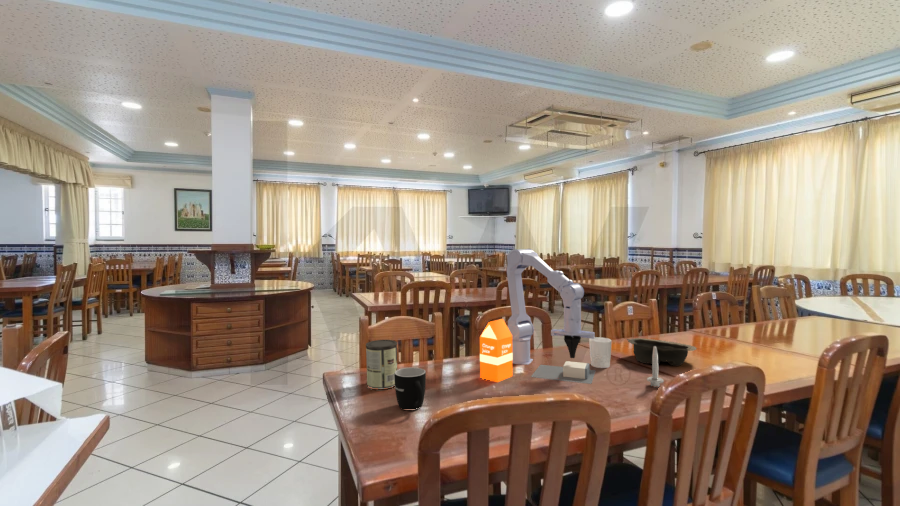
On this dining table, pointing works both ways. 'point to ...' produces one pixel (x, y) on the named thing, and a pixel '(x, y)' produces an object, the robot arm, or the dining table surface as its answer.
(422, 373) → the mug
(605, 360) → the white cup
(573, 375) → the beige rectangular block
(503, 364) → the orange juice
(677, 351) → the stone bowl
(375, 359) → the coffee can
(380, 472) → the dining table surface
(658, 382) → the screw
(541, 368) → the mat
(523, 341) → the robot arm
